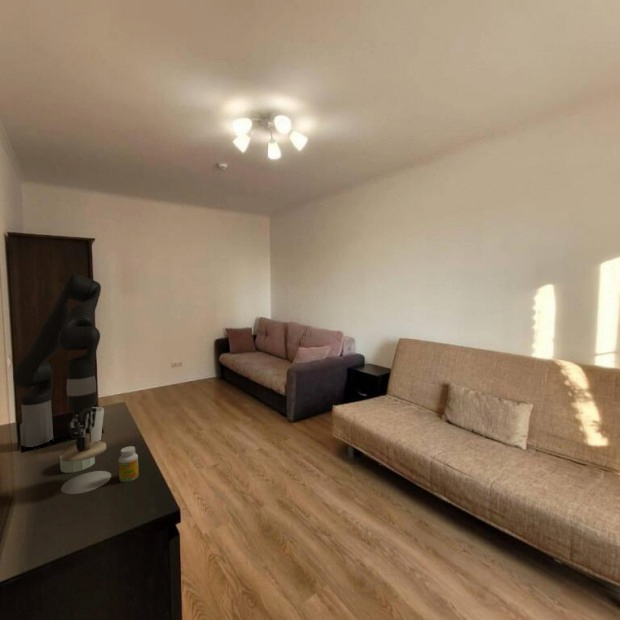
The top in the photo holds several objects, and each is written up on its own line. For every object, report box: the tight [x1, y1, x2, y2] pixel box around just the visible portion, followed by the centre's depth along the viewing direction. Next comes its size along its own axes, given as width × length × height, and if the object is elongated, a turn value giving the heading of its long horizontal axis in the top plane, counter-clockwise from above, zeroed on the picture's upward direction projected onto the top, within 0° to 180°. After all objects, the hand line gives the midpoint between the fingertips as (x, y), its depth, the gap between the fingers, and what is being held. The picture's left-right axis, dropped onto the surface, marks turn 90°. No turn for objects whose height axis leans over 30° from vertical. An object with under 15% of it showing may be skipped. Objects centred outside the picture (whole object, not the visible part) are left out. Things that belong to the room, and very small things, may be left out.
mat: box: [60, 470, 112, 495], centre depth 105 cm, size 13×13×1 cm
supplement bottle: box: [118, 445, 140, 483], centre depth 107 cm, size 5×5×10 cm
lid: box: [60, 433, 107, 462], centre depth 105 cm, size 12×12×6 cm
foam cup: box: [80, 406, 105, 442], centre depth 136 cm, size 10×9×13 cm
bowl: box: [59, 455, 96, 474], centre depth 116 cm, size 10×10×5 cm
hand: (84, 446), depth 105 cm, fingers closed on lid, 3 cm apart
